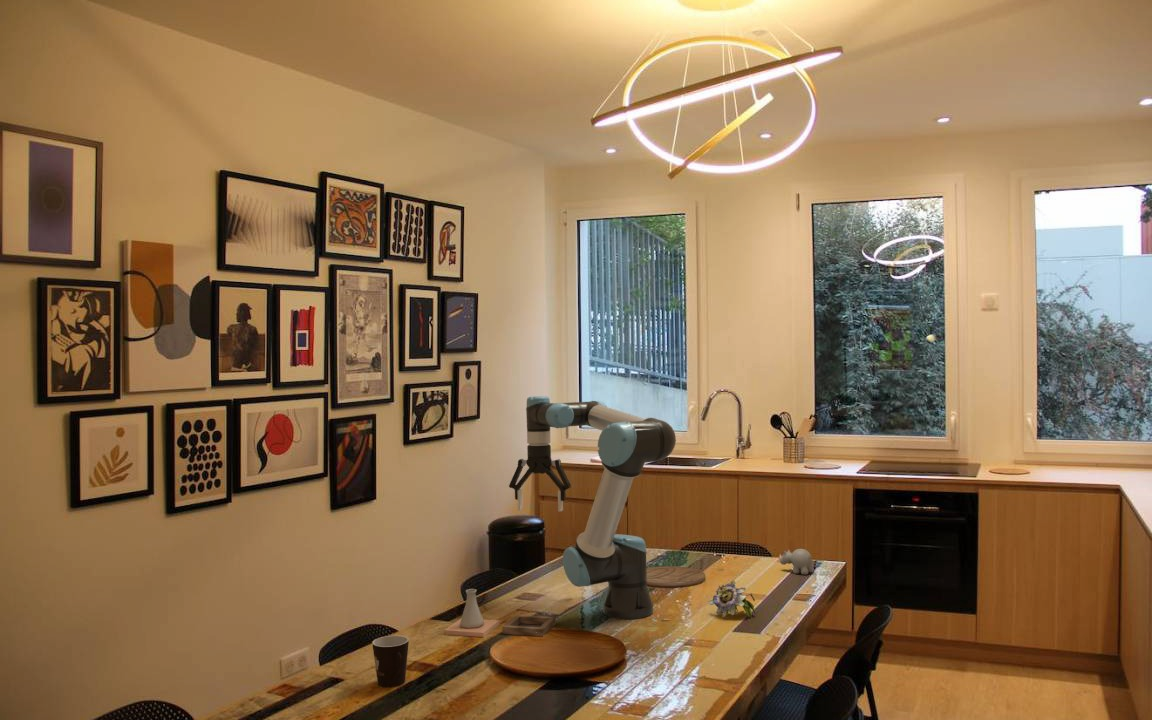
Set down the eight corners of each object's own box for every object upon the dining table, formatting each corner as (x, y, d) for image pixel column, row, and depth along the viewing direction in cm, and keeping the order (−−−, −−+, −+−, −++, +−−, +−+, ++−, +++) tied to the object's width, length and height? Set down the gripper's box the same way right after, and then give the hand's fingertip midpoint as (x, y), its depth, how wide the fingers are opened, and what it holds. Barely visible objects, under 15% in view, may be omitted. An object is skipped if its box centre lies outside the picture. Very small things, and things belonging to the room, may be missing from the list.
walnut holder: (555, 623, 256) (555, 617, 256) (542, 636, 245) (542, 629, 245) (516, 621, 260) (516, 614, 260) (502, 633, 248) (502, 626, 248)
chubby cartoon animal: (785, 567, 319) (784, 544, 319) (815, 572, 311) (815, 548, 311) (775, 571, 314) (774, 547, 314) (806, 576, 305) (805, 552, 306)
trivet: (717, 576, 310) (716, 570, 310) (686, 592, 289) (686, 586, 289) (653, 568, 324) (653, 563, 324) (620, 583, 303) (620, 578, 303)
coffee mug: (375, 677, 215) (374, 636, 215) (411, 675, 216) (410, 634, 216) (368, 695, 204) (367, 651, 204) (406, 693, 205) (405, 649, 205)
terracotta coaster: (499, 624, 257) (499, 620, 257) (483, 637, 245) (483, 632, 245) (461, 622, 260) (461, 618, 260) (444, 634, 249) (444, 630, 249)
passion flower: (725, 635, 259) (700, 601, 261) (738, 619, 268) (714, 586, 270) (753, 619, 253) (727, 584, 255) (766, 603, 262) (741, 569, 264)
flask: (479, 629, 249) (479, 594, 249) (455, 628, 250) (454, 593, 250) (487, 621, 256) (487, 587, 256) (464, 621, 257) (463, 586, 257)
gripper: (579, 443, 283) (580, 509, 283) (506, 443, 290) (508, 507, 290) (572, 445, 276) (574, 513, 276) (498, 445, 283) (499, 511, 283)
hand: (540, 510), depth 283 cm, fingers open, 13 cm apart
